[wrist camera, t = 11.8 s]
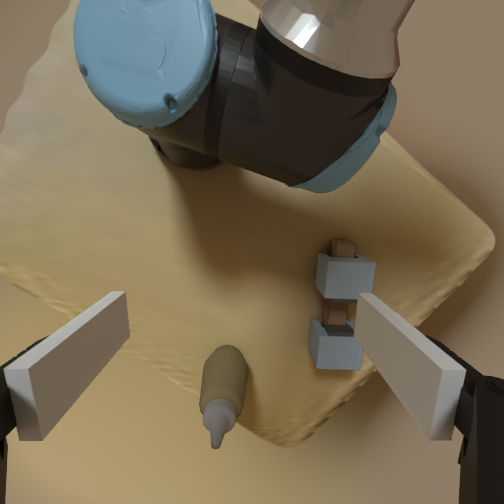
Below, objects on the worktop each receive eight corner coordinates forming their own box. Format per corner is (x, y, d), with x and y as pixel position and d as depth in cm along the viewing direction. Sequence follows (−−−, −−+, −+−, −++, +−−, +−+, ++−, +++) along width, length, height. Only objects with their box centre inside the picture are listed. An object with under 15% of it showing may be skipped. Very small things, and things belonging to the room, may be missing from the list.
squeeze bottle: (236, 382, 52) (230, 479, 34) (199, 366, 51) (173, 456, 33) (255, 349, 50) (259, 433, 33) (217, 332, 49) (200, 408, 32)
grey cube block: (318, 252, 46) (328, 261, 40) (360, 254, 46) (376, 263, 40) (314, 289, 47) (324, 302, 41) (355, 290, 47) (370, 304, 41)
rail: (331, 239, 46) (337, 242, 42) (348, 239, 46) (356, 243, 42) (318, 351, 50) (323, 363, 47) (334, 352, 50) (340, 363, 47)
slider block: (347, 349, 50) (360, 370, 44) (308, 348, 50) (316, 368, 44) (351, 317, 48) (365, 333, 43) (311, 315, 48) (320, 332, 42)
